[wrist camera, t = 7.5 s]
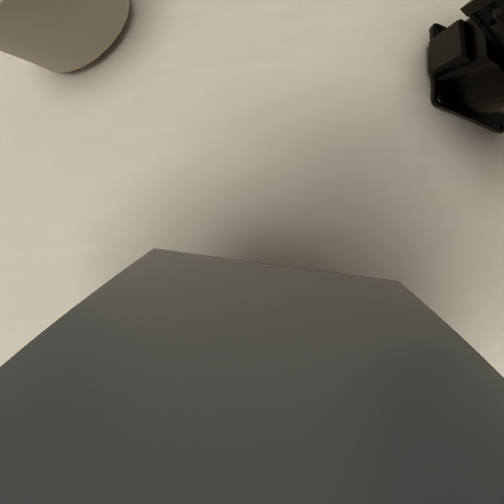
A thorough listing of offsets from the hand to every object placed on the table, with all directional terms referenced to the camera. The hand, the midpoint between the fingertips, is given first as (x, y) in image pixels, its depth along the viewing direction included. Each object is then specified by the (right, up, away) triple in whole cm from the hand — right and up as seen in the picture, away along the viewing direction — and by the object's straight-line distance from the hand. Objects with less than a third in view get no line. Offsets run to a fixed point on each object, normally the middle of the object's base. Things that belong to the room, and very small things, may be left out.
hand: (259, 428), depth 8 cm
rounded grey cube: (0, +1, +2) cm, 2 cm away
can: (-12, +20, +8) cm, 25 cm away
